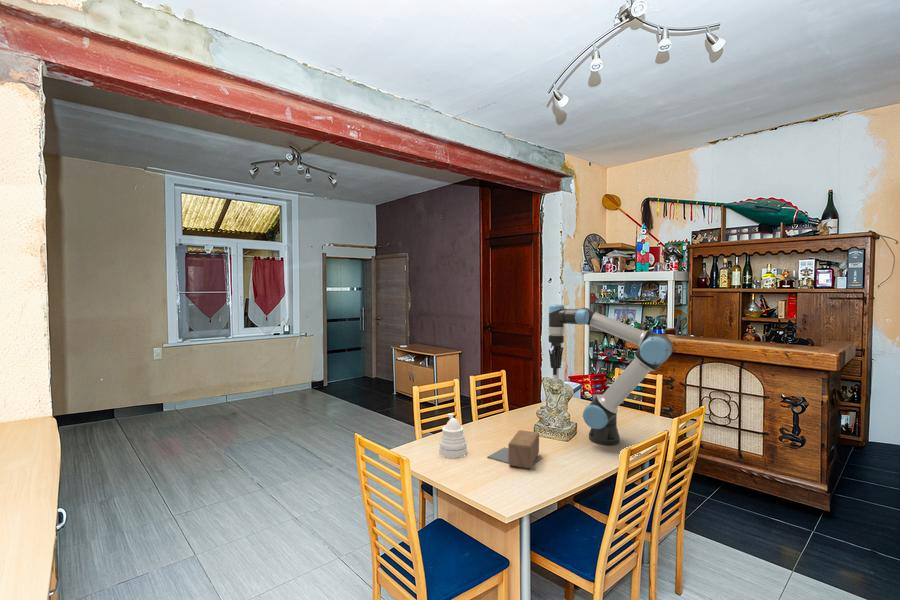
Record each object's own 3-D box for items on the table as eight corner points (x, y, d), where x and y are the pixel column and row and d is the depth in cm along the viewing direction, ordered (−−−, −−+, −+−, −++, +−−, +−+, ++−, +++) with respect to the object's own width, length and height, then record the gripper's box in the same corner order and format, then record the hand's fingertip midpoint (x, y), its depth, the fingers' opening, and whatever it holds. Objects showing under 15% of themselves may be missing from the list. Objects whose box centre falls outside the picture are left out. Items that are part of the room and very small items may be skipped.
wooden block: (539, 431, 208) (530, 446, 189) (539, 453, 208) (530, 469, 190) (518, 429, 211) (507, 443, 193) (518, 450, 212) (507, 465, 193)
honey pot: (433, 452, 210) (434, 414, 210) (454, 446, 219) (454, 409, 218) (451, 460, 200) (451, 421, 200) (472, 453, 209) (472, 415, 208)
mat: (542, 458, 203) (542, 457, 203) (526, 468, 191) (526, 467, 191) (504, 448, 215) (504, 447, 215) (487, 457, 204) (487, 456, 204)
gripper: (554, 333, 234) (554, 377, 235) (543, 335, 224) (543, 382, 224) (568, 334, 229) (567, 379, 230) (557, 336, 219) (557, 384, 220)
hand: (555, 380), depth 227 cm, fingers closed
